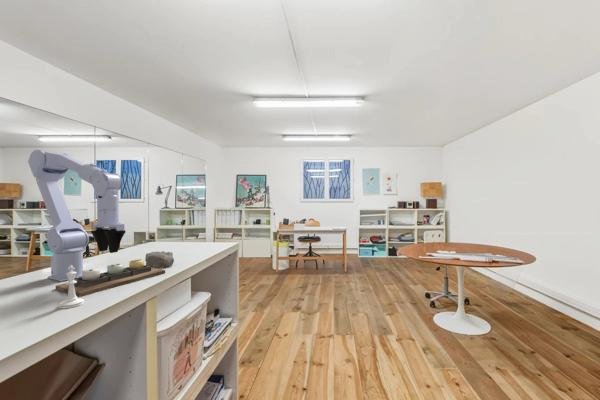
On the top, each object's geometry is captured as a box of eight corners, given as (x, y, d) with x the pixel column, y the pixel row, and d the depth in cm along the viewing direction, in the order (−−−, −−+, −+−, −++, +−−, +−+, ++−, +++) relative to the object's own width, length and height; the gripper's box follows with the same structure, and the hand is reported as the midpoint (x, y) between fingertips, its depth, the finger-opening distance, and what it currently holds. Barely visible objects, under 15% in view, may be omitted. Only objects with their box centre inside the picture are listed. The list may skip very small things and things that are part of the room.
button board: (55, 289, 81) (55, 280, 81) (141, 268, 104) (140, 261, 104) (80, 296, 75) (80, 286, 74) (165, 273, 98) (165, 265, 98)
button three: (126, 268, 95) (126, 261, 95) (138, 265, 98) (138, 258, 98) (134, 269, 93) (134, 262, 93) (146, 267, 96) (146, 259, 96)
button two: (104, 273, 88) (104, 265, 88) (118, 270, 92) (118, 262, 92) (112, 275, 86) (112, 266, 86) (126, 271, 90) (126, 263, 90)
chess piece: (69, 309, 66) (69, 268, 66) (53, 307, 67) (52, 267, 67) (89, 301, 71) (88, 263, 71) (73, 300, 72) (73, 262, 72)
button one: (78, 279, 82) (78, 270, 82) (95, 275, 86) (95, 267, 86) (86, 281, 80) (86, 272, 80) (103, 277, 84) (103, 268, 84)
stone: (174, 266, 107) (174, 252, 107) (145, 270, 102) (145, 255, 102) (172, 262, 114) (172, 248, 114) (145, 266, 109) (144, 251, 109)
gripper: (82, 210, 89) (82, 251, 89) (107, 210, 82) (107, 255, 82) (105, 209, 95) (106, 248, 95) (130, 210, 89) (131, 251, 89)
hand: (108, 251), depth 89 cm, fingers open, 5 cm apart
